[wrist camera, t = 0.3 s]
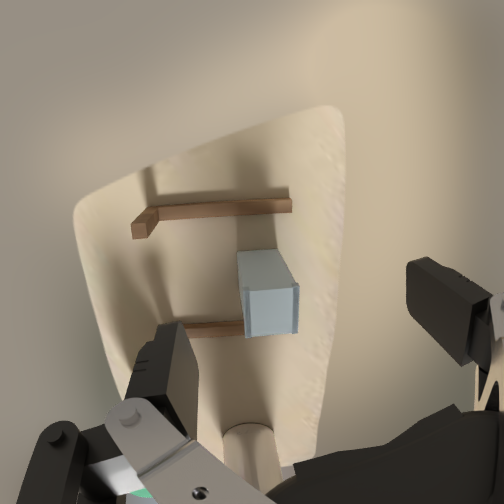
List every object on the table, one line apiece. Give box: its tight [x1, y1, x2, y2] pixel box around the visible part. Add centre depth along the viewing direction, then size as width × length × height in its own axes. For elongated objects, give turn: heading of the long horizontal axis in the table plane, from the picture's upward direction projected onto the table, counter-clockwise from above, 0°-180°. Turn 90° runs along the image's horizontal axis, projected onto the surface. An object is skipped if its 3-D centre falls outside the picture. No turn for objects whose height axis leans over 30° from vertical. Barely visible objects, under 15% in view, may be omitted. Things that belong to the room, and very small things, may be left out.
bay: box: [131, 198, 292, 338], centre depth 36 cm, size 18×17×8 cm
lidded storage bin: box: [237, 249, 300, 338], centre depth 35 cm, size 5×5×11 cm
